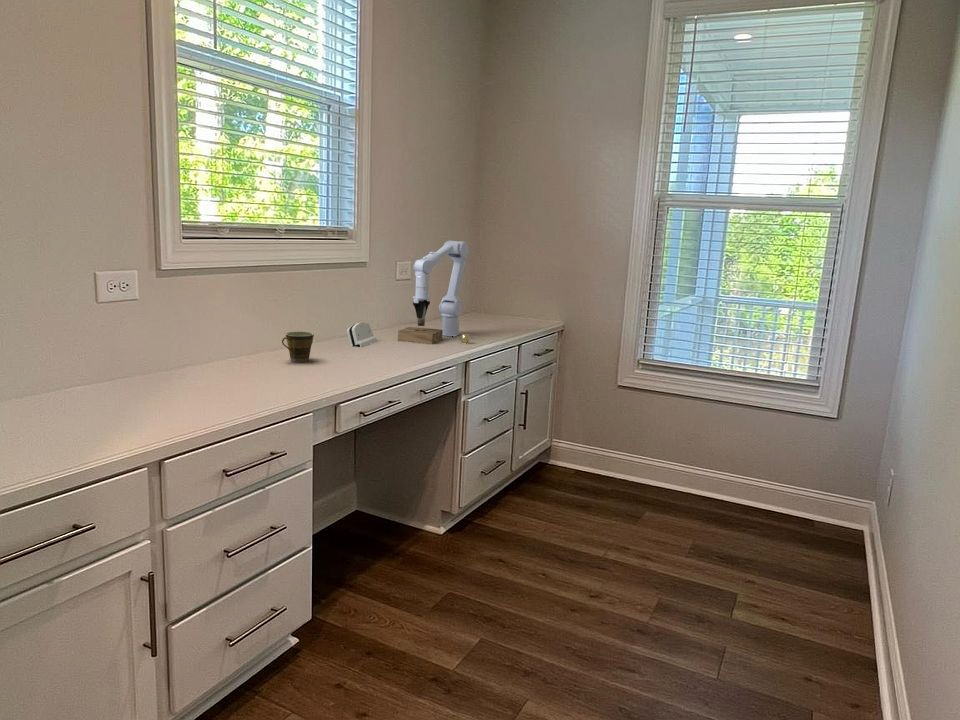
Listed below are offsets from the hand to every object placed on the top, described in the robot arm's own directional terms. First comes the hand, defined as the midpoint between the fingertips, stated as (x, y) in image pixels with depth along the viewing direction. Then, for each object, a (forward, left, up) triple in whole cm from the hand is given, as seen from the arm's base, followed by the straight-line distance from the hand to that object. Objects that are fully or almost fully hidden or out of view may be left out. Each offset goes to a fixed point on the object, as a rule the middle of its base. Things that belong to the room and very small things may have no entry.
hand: (421, 317), depth 307 cm
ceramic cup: (+65, -24, -10) cm, 70 cm away
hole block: (0, 0, -10) cm, 10 cm away
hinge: (+20, -19, -11) cm, 30 cm away
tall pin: (0, 0, -3) cm, 4 cm away
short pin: (-3, +20, -10) cm, 23 cm away
